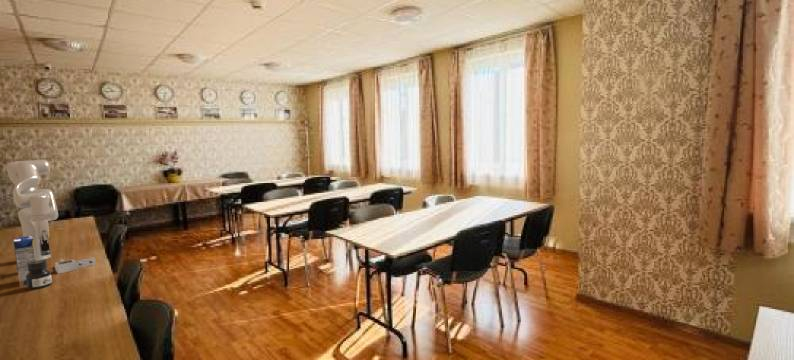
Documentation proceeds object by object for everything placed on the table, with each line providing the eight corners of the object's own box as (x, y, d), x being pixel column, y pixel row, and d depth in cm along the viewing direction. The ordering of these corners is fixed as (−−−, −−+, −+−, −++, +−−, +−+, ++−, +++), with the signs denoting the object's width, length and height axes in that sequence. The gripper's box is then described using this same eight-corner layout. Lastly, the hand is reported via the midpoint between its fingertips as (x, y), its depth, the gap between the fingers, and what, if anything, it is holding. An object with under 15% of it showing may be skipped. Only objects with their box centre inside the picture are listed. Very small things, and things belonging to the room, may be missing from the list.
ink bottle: (36, 290, 184) (32, 265, 183) (21, 289, 186) (17, 265, 185) (57, 283, 194) (54, 259, 192) (43, 282, 195) (40, 258, 194)
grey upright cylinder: (40, 254, 217) (38, 242, 216) (49, 252, 220) (48, 240, 219) (41, 256, 215) (39, 243, 214) (50, 254, 218) (49, 242, 217)
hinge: (52, 267, 219) (51, 259, 219) (90, 260, 232) (89, 252, 231) (58, 273, 208) (57, 265, 207) (97, 265, 220) (96, 257, 220)
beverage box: (19, 286, 191) (13, 241, 189) (19, 280, 199) (13, 238, 197) (38, 282, 196) (33, 238, 193) (37, 277, 204) (32, 235, 201)
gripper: (29, 216, 217) (33, 248, 220) (34, 220, 206) (38, 254, 209) (47, 213, 223) (51, 245, 225) (52, 218, 212) (56, 251, 214)
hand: (44, 249), depth 217 cm, fingers closed on grey upright cylinder, 4 cm apart
